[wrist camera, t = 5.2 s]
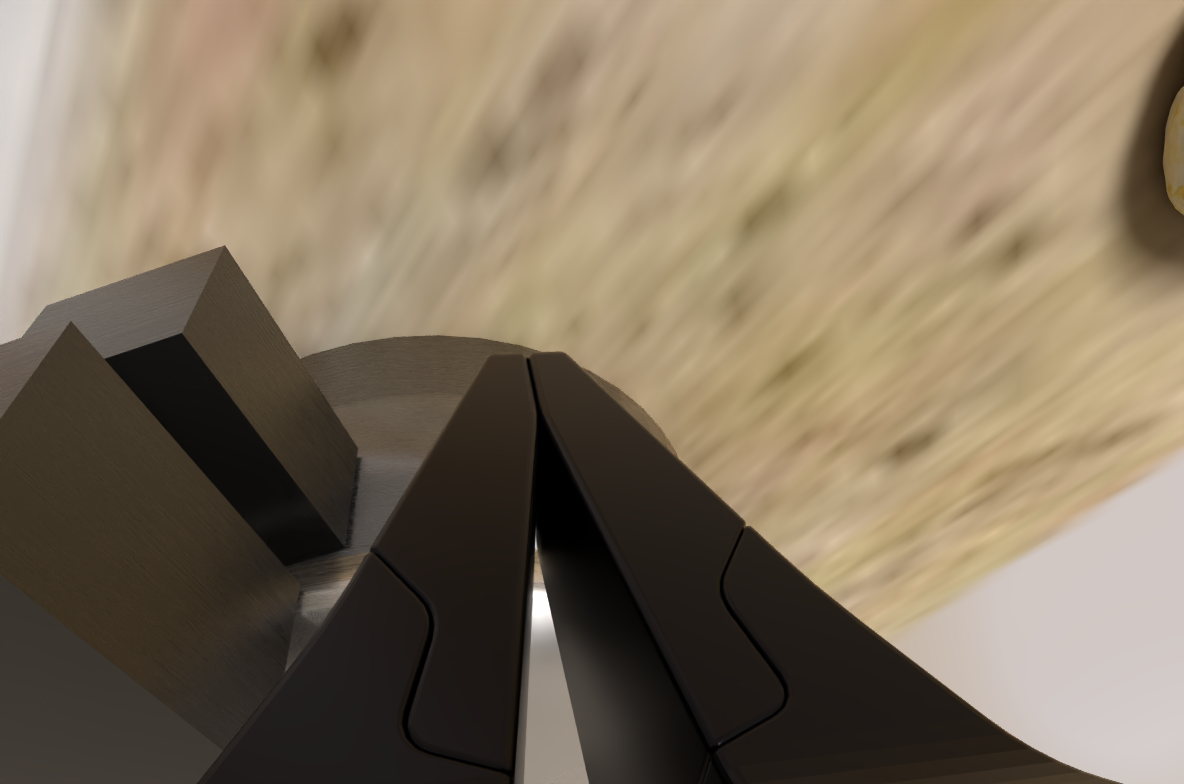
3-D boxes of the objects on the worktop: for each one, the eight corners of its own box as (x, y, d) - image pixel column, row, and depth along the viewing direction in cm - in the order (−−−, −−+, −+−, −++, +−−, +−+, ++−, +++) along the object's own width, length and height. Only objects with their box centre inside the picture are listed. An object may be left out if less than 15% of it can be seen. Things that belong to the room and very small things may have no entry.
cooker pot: (726, 620, 27) (796, 820, 22) (323, 742, 27) (295, 965, 22) (562, 52, 15) (629, 190, 9) (-148, 296, 15) (-452, 550, 10)
